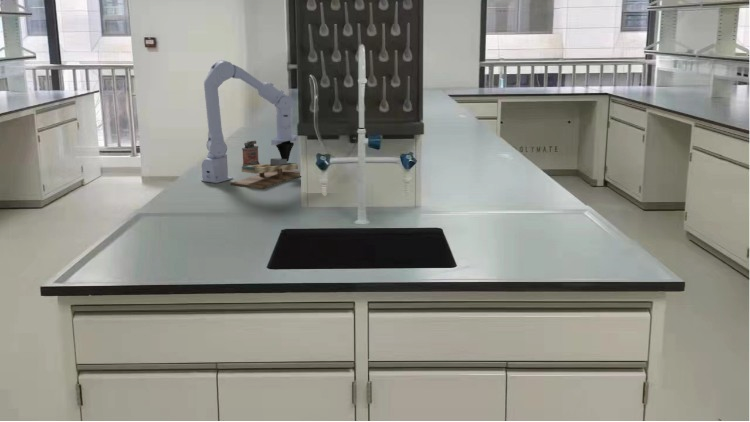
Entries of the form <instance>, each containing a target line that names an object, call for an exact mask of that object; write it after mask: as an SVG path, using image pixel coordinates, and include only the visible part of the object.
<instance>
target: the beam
mask: <svg viewBox="0 0 750 422" xmlns="http://www.w3.org/2000/svg"><path fill="white" fill-rule="evenodd" d="M280 168H282V171H286V170H294V171H296V170H298V168H299V164H298V163H295V162H289V161H287V165H280V166H270V163H266V164H264V163H263V164H257V165H252V166H243V165H242V166H241V173H248V174H249V173H250V174H256V175H259V173H268V172H277V169H280Z"/></svg>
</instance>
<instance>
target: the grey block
mask: <svg viewBox="0 0 750 422" xmlns="http://www.w3.org/2000/svg"><path fill="white" fill-rule="evenodd" d="M287 162H288V161H287V159H283V158H281V157H276V158H275V157H274V158H270V163H269V164H270V166H280V165H287Z"/></svg>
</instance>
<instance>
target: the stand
mask: <svg viewBox="0 0 750 422" xmlns="http://www.w3.org/2000/svg"><path fill="white" fill-rule="evenodd" d="M300 171H301V170H286V171H282V168H280V169H277V172H268V173H258V174H256V175H252V176H248V177H247V178H243V179H242V178H241V179H239V180H237V181H231V182H230V185H231V186H234V187H235V186H236V187H237V186H238V187H245V188H252V189H259V190H263V189H266V188H269V187H270V188H271V187H273V186H276V185H278V183H279V184H281V182H282V183H285V182H288V180H289V181H292V180H295V179H297V177H298V178H301V177H300ZM294 178H295V179H294ZM291 179H292V180H291ZM284 181H285V182H284Z"/></svg>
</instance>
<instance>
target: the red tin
mask: <svg viewBox="0 0 750 422" xmlns="http://www.w3.org/2000/svg"><path fill="white" fill-rule="evenodd" d="M243 144H244V147H241V151H242V166H252V165H260V161H259V145H255V144H257V140H251V141H250V140H248V141H246V142H245V141H244V143H243Z"/></svg>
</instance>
